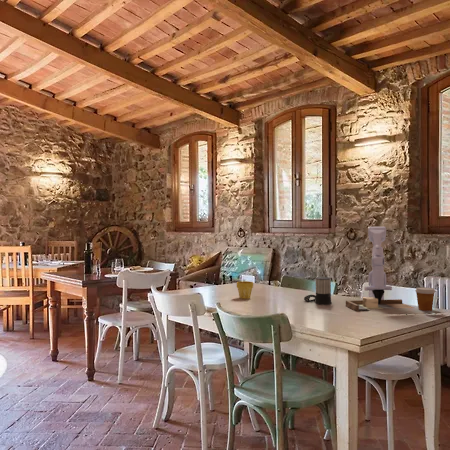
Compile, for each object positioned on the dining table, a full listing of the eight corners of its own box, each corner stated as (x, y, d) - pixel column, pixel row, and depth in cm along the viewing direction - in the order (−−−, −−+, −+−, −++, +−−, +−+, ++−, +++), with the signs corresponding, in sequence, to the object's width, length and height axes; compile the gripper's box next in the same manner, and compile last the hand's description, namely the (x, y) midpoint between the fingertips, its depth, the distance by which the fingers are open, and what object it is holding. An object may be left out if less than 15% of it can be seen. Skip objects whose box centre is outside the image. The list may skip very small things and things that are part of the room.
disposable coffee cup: (423, 313, 227) (423, 290, 227) (411, 310, 237) (411, 287, 237) (439, 312, 230) (439, 289, 230) (426, 309, 239) (426, 286, 239)
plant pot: (253, 296, 285) (253, 281, 285) (253, 299, 275) (252, 283, 275) (237, 296, 286) (237, 281, 286) (236, 299, 276) (236, 283, 276)
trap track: (345, 305, 251) (345, 300, 251) (401, 304, 253) (401, 299, 253) (356, 311, 235) (356, 305, 235) (414, 309, 238) (414, 304, 238)
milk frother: (331, 305, 254) (331, 278, 254) (303, 304, 257) (303, 278, 257) (331, 301, 268) (331, 276, 268) (304, 300, 271) (304, 275, 271)
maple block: (362, 305, 246) (362, 297, 246) (373, 305, 246) (373, 297, 246) (367, 307, 240) (367, 299, 240) (378, 307, 240) (377, 298, 240)
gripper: (368, 279, 239) (368, 305, 239) (394, 279, 240) (394, 304, 240) (362, 278, 246) (363, 302, 246) (388, 277, 247) (388, 302, 247)
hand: (378, 303), depth 244 cm, fingers closed
